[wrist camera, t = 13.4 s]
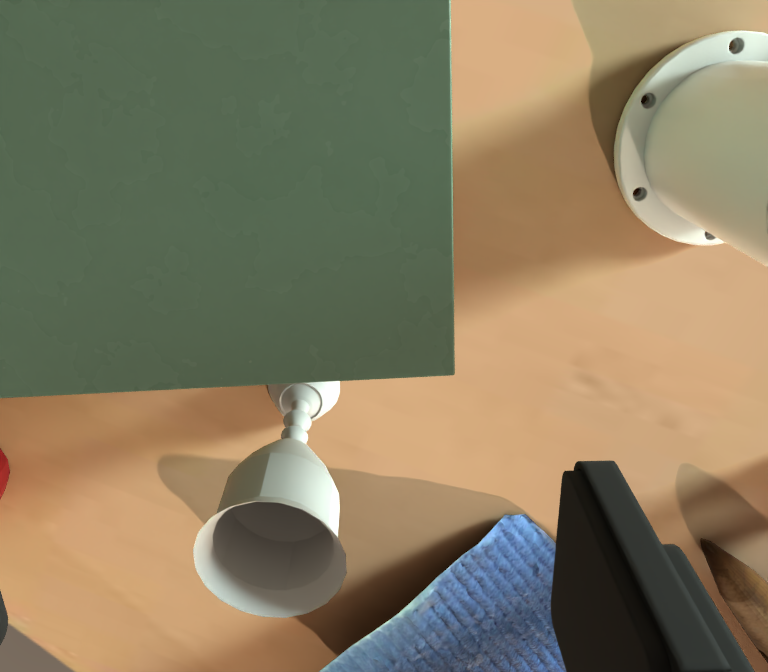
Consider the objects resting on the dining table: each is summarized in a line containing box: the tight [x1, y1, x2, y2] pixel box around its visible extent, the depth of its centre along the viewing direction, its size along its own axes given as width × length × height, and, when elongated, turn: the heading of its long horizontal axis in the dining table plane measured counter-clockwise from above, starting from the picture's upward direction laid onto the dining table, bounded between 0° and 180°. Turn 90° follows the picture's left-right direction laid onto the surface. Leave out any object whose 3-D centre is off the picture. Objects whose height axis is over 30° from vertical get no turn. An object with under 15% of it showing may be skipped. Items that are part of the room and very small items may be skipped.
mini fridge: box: [0, 0, 455, 398], centre depth 31 cm, size 17×24×24 cm
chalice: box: [193, 381, 346, 618], centre depth 42 cm, size 7×7×18 cm
